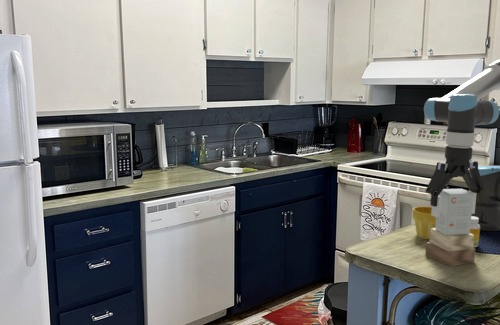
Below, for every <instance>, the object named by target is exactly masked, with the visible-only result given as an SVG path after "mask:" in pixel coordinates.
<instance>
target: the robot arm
mask: <svg viewBox="0 0 500 325" xmlns="http://www.w3.org/2000/svg"><path fill="white" fill-rule="evenodd" d="M498 90H500V59H497V60H495V61H492V62H491V63H489V64H488V65H486V66H485V67H484V68H482V70H481V73H478V74H477V75H476V76H474V77H473V78H471V79H470V80H467V81H466V82H464V83H462V84H461V85H460V86H458V87H457V88H454V90H452V91H450V92H449V93H447V94H445V95H444V96H442V97H432V98H428V99H427V100H426V101H425V103H424V106H423V112H424V113H423V115H424V116H425V118H426V119H427V120H429V121H434V122H443V123H444V122H446V123H447V127H446V128H447V129H446V139H445V144H446V146H445V149H444V150H445V151H444V158H445V163H444V162H439V161H438V162H436V167H435V170H434V173H433V174H432V176H431V177H430V178H431V179H430V180H429V182H428V184H427V186H426V188H425V193H426V194H428V195H430V207H432V211H431V215H432V216H434V217H437V218H439V216H440V204H441V196H439V194H440V193H441V192H442V190H443V189H446V187H447V185H448V184H449V182H451V180H453V179H454V178H459V177H460V178H462V180H463V181H464V183H465V185H466V186H467V187H468V191H469V192H472V193H474V196H473V205H472V215H471V216H474V217H478V218H479V222H478V224H479V225H480V231H484V232H485V231H486V232H497V231H498V232H499V231H500V165H479V162H478V161H476V160H472V159H473V150H474V149H473V148H472V146H474V138H475V128H476V127H475V126H479V125H480V126H481V125H483V126H486V125H490V124H494V123H495V122H496V121H497V120H498V119H499V116H500V108H499V105H498V104H497V103H496V102H495V101H493V100H488V99H483V98H484V97H486V96H488V95H489V94H491V93H492V92H494V91H498ZM481 99H482V100H481Z"/></svg>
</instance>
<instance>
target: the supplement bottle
mask: <svg viewBox="0 0 500 325" xmlns="http://www.w3.org/2000/svg"><path fill="white" fill-rule="evenodd" d="M478 222H479V218H478V217H474V216H471V225H470V233H471V234H473V235H474V245H473V248H477V247H478V246H479V241H480V232H481V230H480V225H479V224H478Z"/></svg>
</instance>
